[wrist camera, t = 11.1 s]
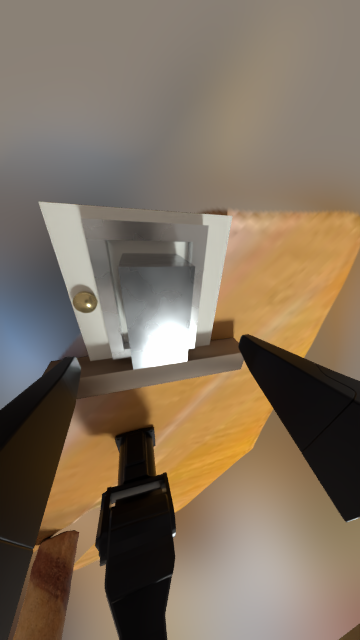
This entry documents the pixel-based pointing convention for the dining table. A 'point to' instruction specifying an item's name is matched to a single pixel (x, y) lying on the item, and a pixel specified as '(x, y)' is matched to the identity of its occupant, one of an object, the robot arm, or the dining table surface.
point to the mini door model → (132, 237)
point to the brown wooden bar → (155, 369)
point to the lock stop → (157, 306)
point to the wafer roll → (48, 589)
